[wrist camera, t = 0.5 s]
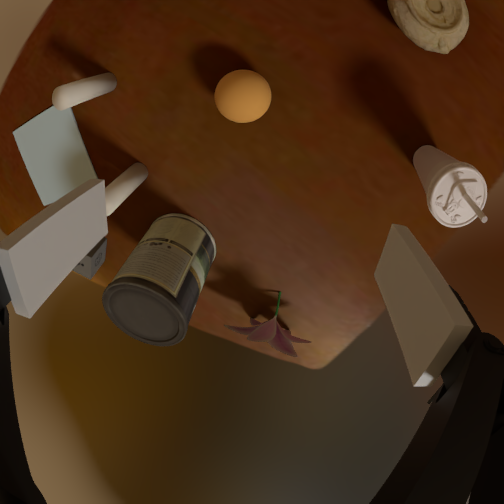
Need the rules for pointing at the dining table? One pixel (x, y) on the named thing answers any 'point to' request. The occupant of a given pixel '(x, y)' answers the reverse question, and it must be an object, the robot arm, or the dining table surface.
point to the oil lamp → (431, 22)
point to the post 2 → (124, 186)
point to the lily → (270, 334)
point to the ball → (242, 96)
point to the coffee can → (161, 281)
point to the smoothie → (450, 187)
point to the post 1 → (83, 90)
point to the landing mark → (54, 154)
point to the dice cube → (92, 260)
